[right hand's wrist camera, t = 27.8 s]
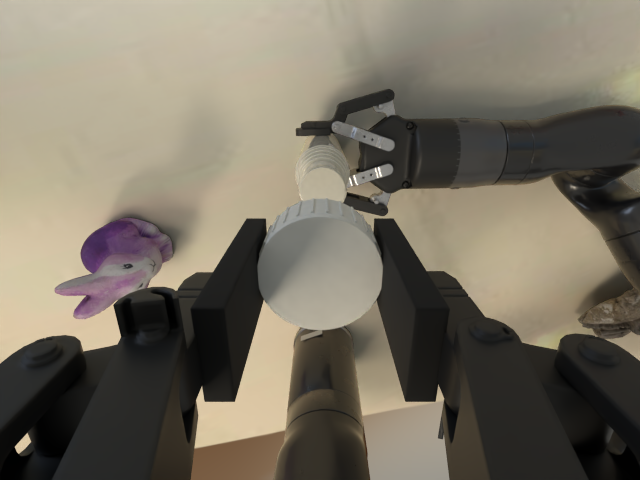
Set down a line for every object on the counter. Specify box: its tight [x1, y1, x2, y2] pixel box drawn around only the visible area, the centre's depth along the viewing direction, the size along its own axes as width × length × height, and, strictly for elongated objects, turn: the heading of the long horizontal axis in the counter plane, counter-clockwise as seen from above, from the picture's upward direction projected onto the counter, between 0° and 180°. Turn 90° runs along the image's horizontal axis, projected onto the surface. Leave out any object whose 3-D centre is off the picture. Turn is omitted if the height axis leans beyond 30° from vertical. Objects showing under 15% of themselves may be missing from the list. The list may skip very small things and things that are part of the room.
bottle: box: [295, 133, 350, 203], centre depth 35 cm, size 5×5×23 cm
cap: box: [257, 198, 383, 330], centre depth 13 cm, size 4×4×2 cm
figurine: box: [55, 218, 173, 319], centre depth 43 cm, size 9×10×15 cm
